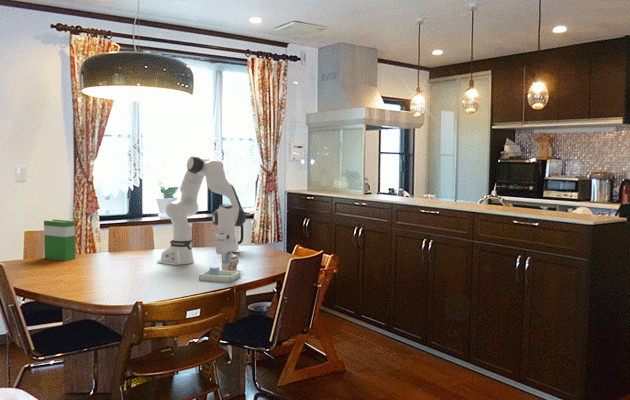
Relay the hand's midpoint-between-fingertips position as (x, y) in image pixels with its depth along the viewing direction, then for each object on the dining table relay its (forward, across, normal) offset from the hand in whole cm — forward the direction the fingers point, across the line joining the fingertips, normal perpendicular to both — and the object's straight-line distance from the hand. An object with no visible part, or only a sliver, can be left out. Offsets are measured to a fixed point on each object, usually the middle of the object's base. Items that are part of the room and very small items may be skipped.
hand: (226, 259), depth 297 cm
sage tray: (+11, 0, -4) cm, 11 cm away
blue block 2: (+2, 0, 0) cm, 2 cm away
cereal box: (+10, -18, -121) cm, 123 cm away
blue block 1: (+10, 0, -7) cm, 12 cm away
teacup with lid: (+11, -20, -6) cm, 23 cm away
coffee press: (+11, -75, -30) cm, 81 cm away
